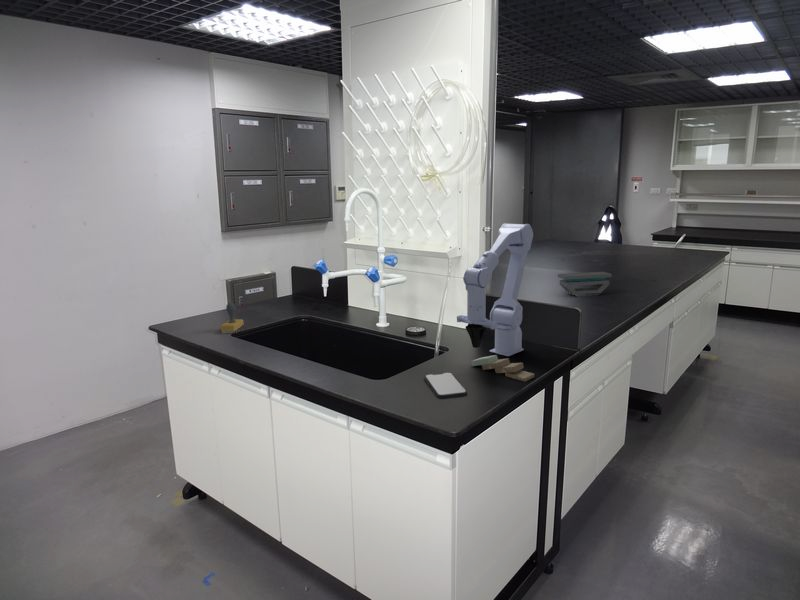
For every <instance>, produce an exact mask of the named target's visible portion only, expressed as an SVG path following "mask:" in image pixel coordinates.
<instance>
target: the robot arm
mask: <svg viewBox="0 0 800 600" xmlns="http://www.w3.org/2000/svg"><path fill="white" fill-rule="evenodd" d="M533 238H534V231H533V228H532V225H531V224H529V223H525V224H524V223H521V224H520V223H509V222H508V223H507V222H505V223H502V225H501V226H500V228H499V229H498V237H497V238H496V240H495V242H494V243H493V244H492V246H491V248H490V249H489V250H488V251H487V250H486V251H484V252H482V254H481V256H480V257H479V258H478V260H477V261H476V262H475V264H473V266H472V267H469V268H467V269H466V270H465V271H464V275H463V278H462V280H463V283H464V285H465V290H466V291H467V292H466V293H467V295H466V297H467V299H466V301H467V302H466V303H467V304H466V305H467V308H466V309H467V310H466V312H467V313H466V315H464V314H463V315H462V314H461V315H457V316H456V323H464V324H467V325H466V326H465V330H466V331H467V334H468V335H469V338H470V341H471V345H472V348H475V349H478V348H479V347H480V346H481V343H482V338H483V336H484V334H485V332H486V331H487V329H490V330H494V348H492V349H490V350H489V353H494V354H496V355H501V356H506V357H510V356H513V355H516V354H517V353H520V352H522V351H524V350H525V349H524V348H523V347H522V345H523V344H522V340H523V338H522V337H523V332H522V328H521V327H520V326H521V324H522V322H523V306H522V305H521V303H520V302H519V301H518V296H519V293H520V288H521V284H522V280H523V279H522V278H523V274H524V270H525V265H526V260H527V256H528V252H529V251H530V250H531V249H532V248H531V247H532V243H533ZM506 250H509V251H510V259H509V262H508V266H507V271H506V277H505V281H504V284H503V290H502V293H501V294H502V295H501V297H499V298H498V299H497V300H496V301H494V302H493V303H494V304H493V306H492V308H491V310H490V312H489V319H488V318H487V317H486V316H487V315H486V308H487V307H486V302H487V301H486V299H487V298H486V295H487V293H486V292H487V291H486V289H487V286H488V285H489V283H490V281H491V280H490V279H491V277H492V273H493V271H494V270H495V269H496V267H497V266H498V264H499V263H500V258H499V257H500V256H501V255H502V254H503V253H504V252H505V251H506Z"/></svg>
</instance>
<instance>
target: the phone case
mask: <svg viewBox="0 0 800 600" xmlns="http://www.w3.org/2000/svg"><path fill="white" fill-rule="evenodd" d="M424 382H426V385H428V387H429V388H430V389H431V391H432V392H433V394H434V395H435V396H436V398H437V399H449V398H457V397H466V396H467V395H468V391H467V390H466V388H465V387H464V386H463V385H462V384H461V382H459V380H458V379H457V377H456V376H455V375H454V374H453V373H451V372H441V373H432V374H431V373H430V374H425V375H424Z"/></svg>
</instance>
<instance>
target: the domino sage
mask: <svg viewBox="0 0 800 600" xmlns="http://www.w3.org/2000/svg"><path fill="white" fill-rule="evenodd" d="M496 360H499V357H498V354H495V355H489V356H487V355H486V356H483V357H479V358H477V359H473V360H471V361H470V365H471V367H476V366H482V365H484V364H489V363H492V362H494V361H496Z"/></svg>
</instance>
